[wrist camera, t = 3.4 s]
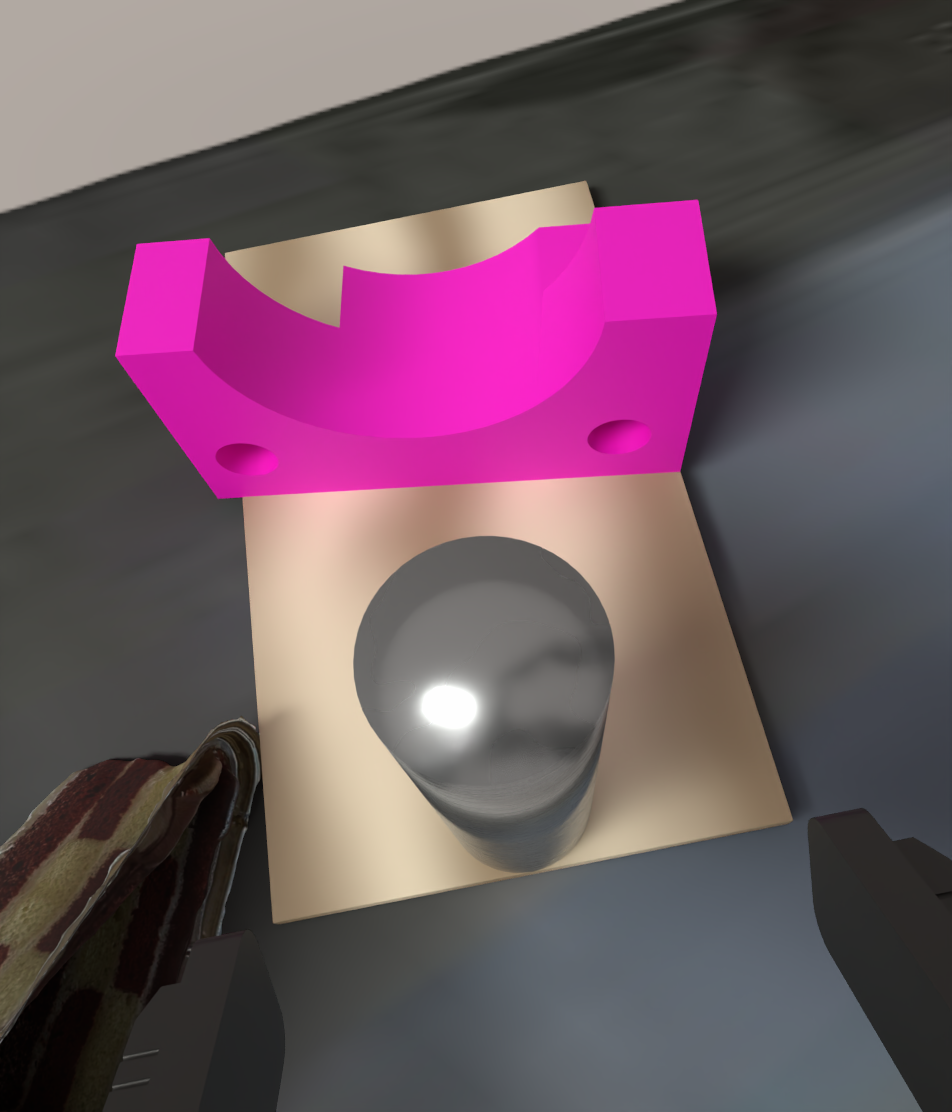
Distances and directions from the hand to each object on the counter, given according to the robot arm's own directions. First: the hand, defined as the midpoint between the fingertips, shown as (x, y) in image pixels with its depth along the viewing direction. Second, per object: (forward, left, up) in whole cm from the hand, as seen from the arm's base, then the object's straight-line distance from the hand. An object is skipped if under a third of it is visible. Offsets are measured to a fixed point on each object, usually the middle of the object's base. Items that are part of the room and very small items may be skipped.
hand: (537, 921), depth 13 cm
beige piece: (0, -14, -12) cm, 18 cm away
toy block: (0, -17, -11) cm, 20 cm away
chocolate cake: (+12, -3, -12) cm, 18 cm away
